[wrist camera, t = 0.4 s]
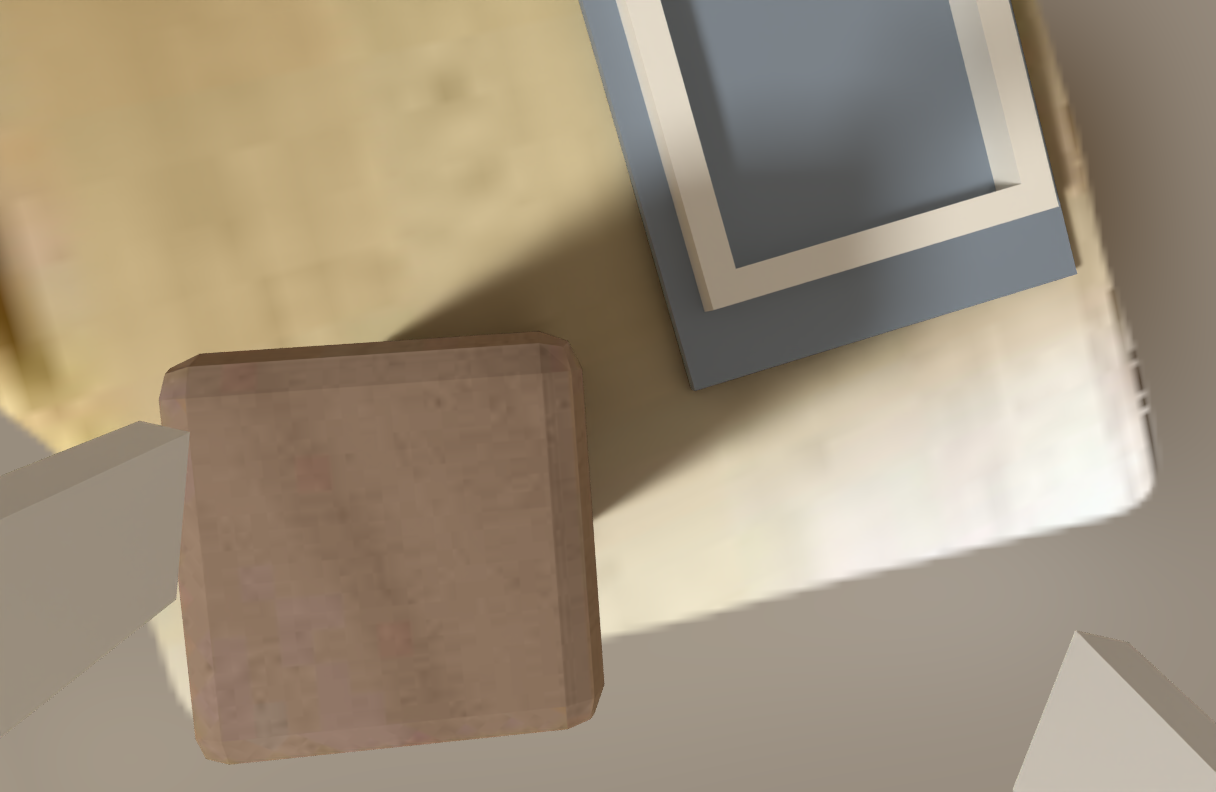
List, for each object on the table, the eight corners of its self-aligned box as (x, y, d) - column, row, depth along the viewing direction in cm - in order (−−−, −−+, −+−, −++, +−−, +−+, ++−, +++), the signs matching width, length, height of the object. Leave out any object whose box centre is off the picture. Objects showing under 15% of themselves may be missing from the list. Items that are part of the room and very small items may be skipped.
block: (563, 337, 38) (580, 327, 18) (577, 538, 39) (610, 742, 19) (353, 351, 37) (133, 357, 17) (372, 556, 38) (181, 788, 18)
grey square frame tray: (550, -99, 37) (550, -139, 34) (946, -205, 38) (980, -252, 35) (691, 389, 39) (703, 393, 36) (1063, 275, 40) (1105, 270, 37)
